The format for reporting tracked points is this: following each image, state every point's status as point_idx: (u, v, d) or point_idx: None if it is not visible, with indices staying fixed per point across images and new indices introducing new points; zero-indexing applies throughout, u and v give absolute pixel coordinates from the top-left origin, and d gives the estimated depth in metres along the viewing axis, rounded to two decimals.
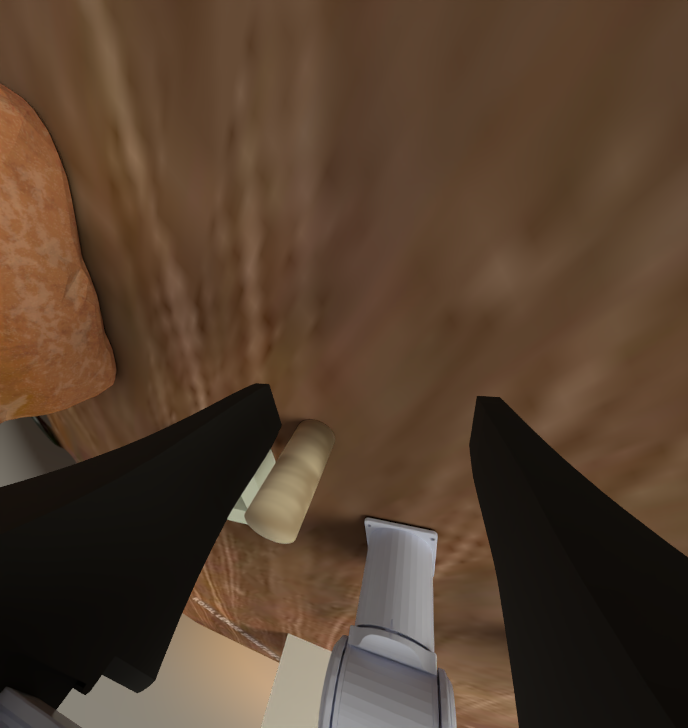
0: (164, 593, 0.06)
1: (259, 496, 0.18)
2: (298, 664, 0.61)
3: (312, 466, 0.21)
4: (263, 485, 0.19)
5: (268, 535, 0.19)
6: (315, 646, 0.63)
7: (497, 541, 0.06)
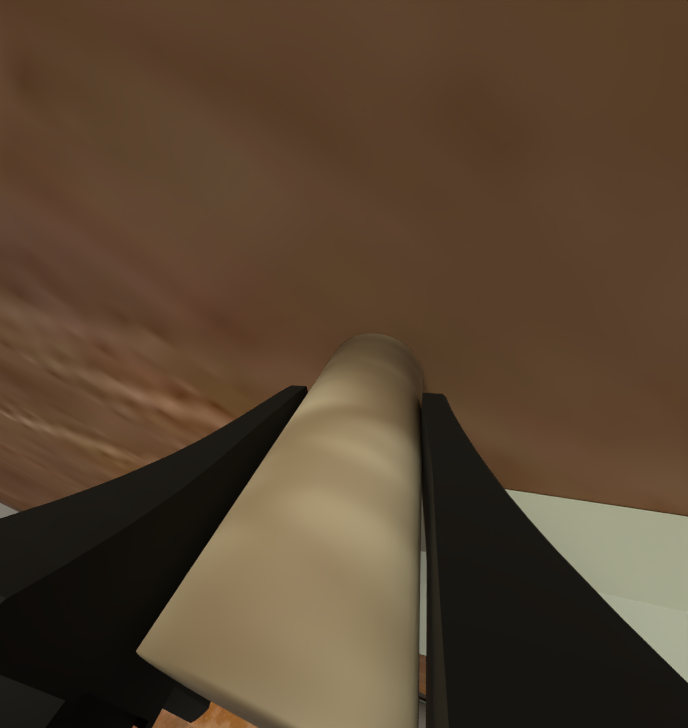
0: None
1: None
2: None
3: (302, 409, 0.07)
4: None
5: None
6: None
7: (426, 527, 0.06)
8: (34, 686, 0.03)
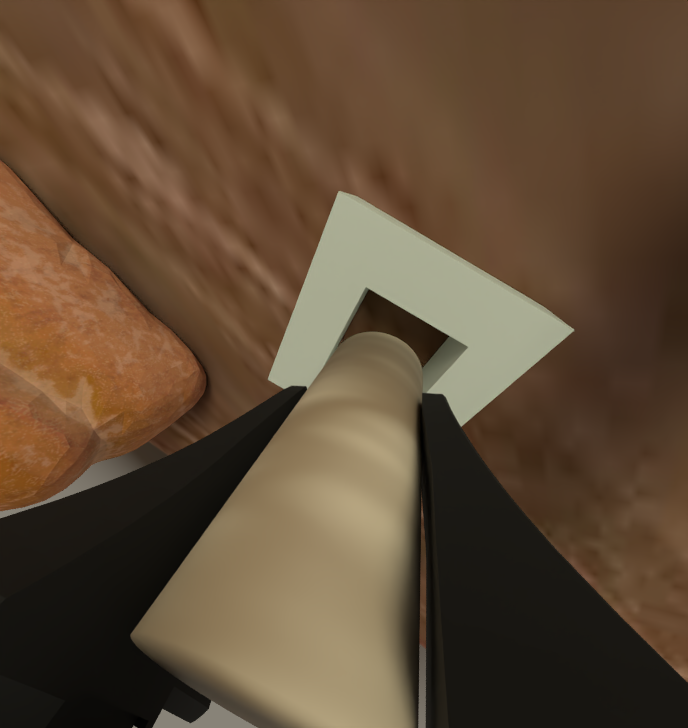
0: None
1: None
2: None
3: (301, 403, 0.07)
4: None
5: None
6: None
7: (426, 527, 0.06)
8: (34, 686, 0.03)
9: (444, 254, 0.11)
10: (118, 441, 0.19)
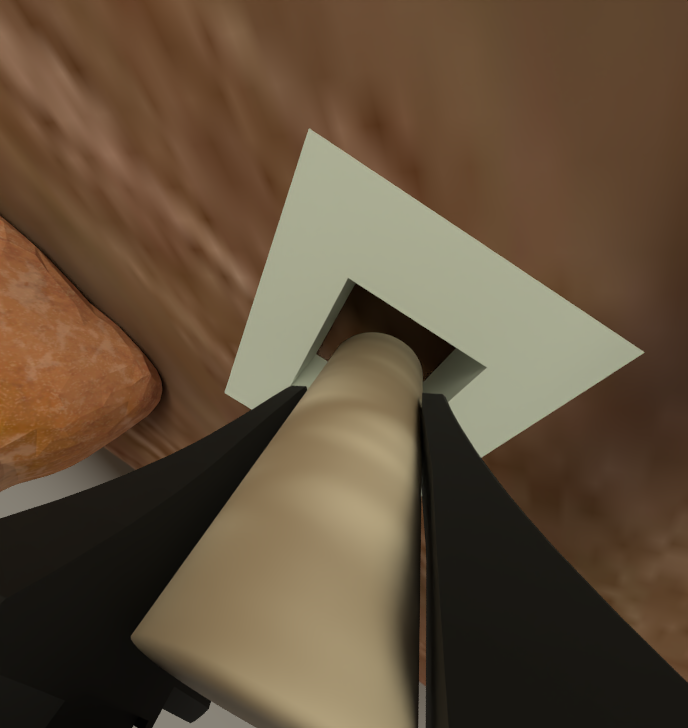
0: None
1: None
2: None
3: (301, 403, 0.07)
4: None
5: None
6: None
7: (426, 527, 0.06)
8: (34, 686, 0.03)
9: (463, 233, 0.07)
10: (33, 464, 0.15)
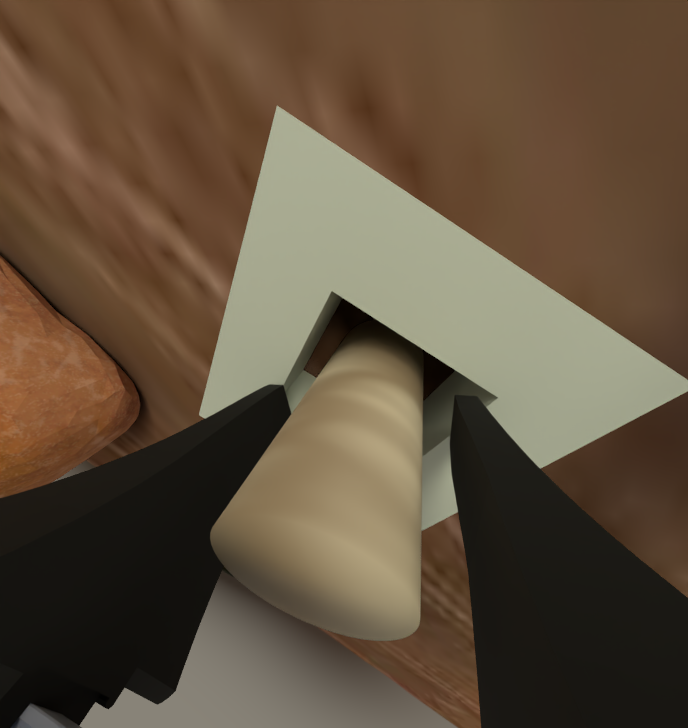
0: (184, 600, 0.06)
1: None
2: None
3: (320, 376, 0.08)
4: None
5: (379, 619, 0.04)
6: None
7: (468, 535, 0.06)
8: None
9: (471, 238, 0.06)
10: None
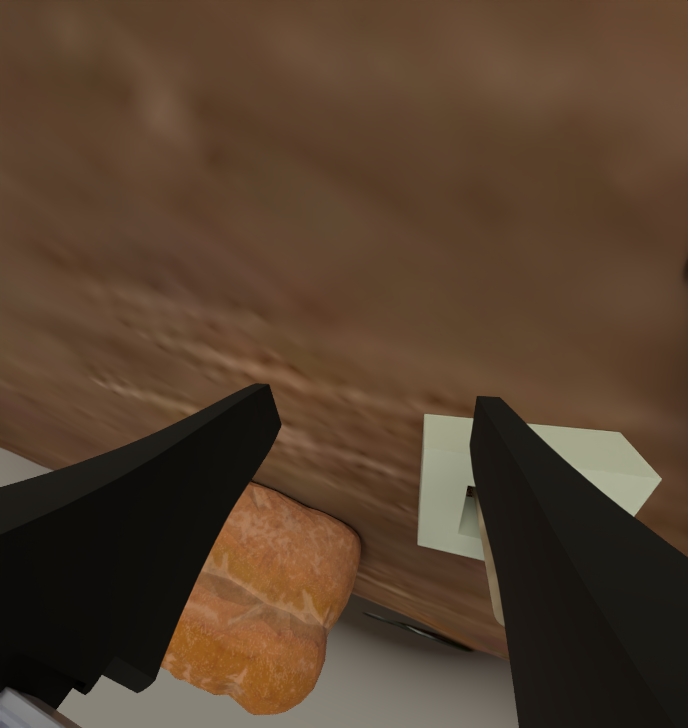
0: (164, 593, 0.06)
1: None
2: None
3: (483, 522, 0.17)
4: None
5: None
6: None
7: (497, 541, 0.06)
8: None
9: None
10: (334, 622, 0.25)
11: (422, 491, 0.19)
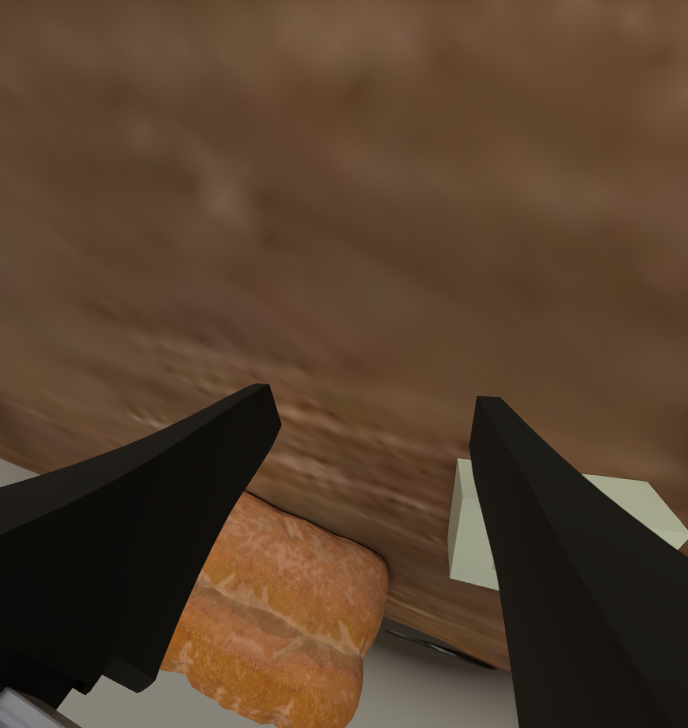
0: (164, 593, 0.06)
1: None
2: None
3: None
4: None
5: None
6: None
7: (497, 541, 0.06)
8: None
9: None
10: (368, 650, 0.26)
11: (458, 533, 0.20)
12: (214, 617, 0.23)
